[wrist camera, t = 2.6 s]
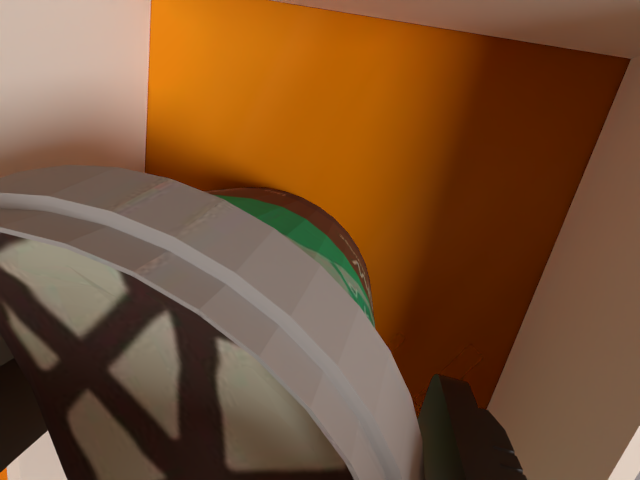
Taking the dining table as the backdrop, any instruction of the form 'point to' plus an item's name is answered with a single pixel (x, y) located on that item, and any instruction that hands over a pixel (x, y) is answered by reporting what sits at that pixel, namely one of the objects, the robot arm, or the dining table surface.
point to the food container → (197, 332)
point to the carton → (561, 269)
